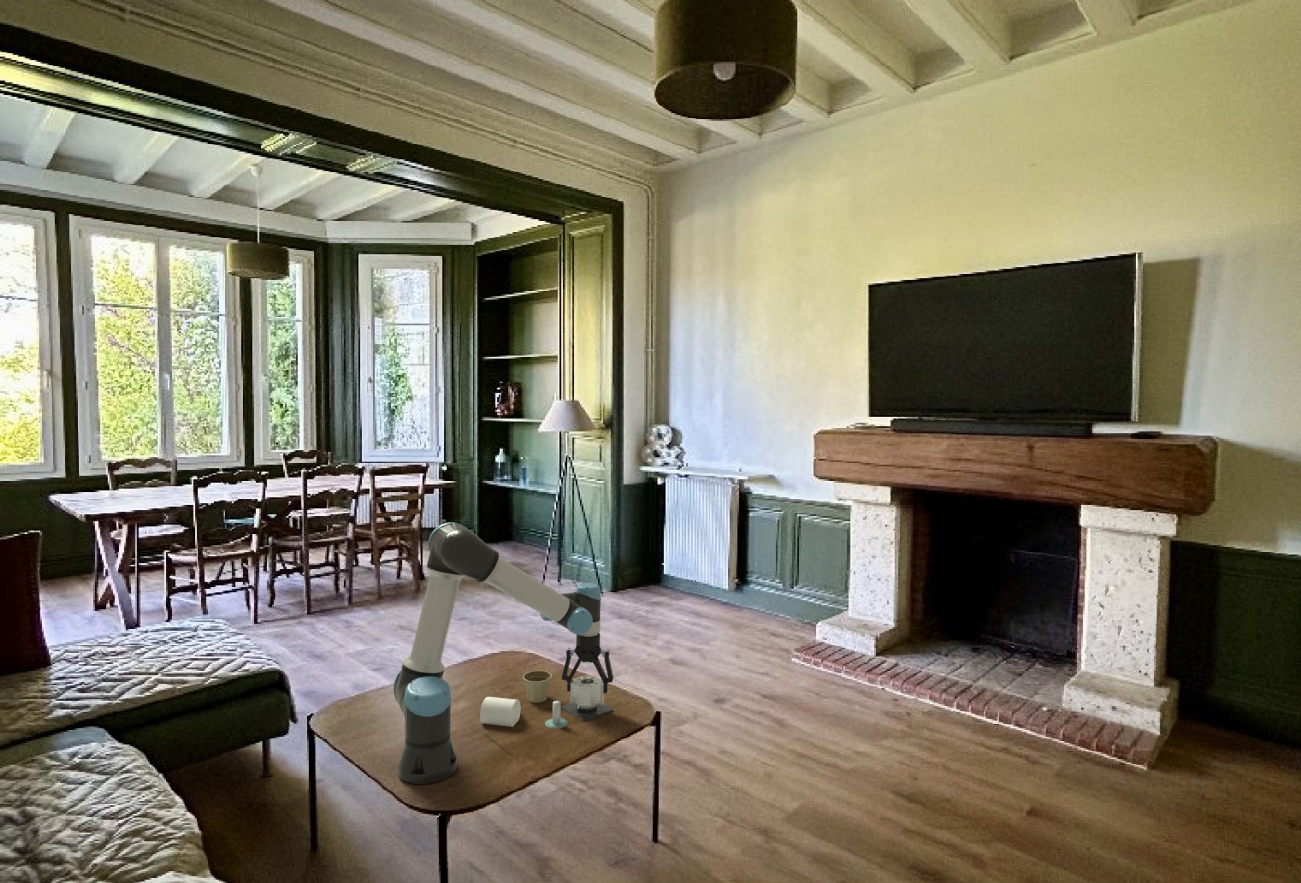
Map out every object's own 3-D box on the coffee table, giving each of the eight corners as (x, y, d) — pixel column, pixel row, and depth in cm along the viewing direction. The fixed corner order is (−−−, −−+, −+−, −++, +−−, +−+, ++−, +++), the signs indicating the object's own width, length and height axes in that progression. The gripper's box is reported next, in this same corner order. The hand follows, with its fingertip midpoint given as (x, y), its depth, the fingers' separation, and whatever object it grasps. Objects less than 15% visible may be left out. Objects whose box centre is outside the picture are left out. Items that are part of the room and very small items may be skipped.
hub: (582, 724, 223) (583, 695, 222) (560, 711, 232) (561, 682, 231) (613, 713, 230) (614, 685, 230) (591, 701, 240) (591, 673, 239)
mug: (510, 732, 217) (511, 706, 216) (479, 728, 219) (479, 703, 218) (525, 715, 229) (525, 690, 228) (496, 711, 231) (496, 687, 230)
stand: (553, 733, 216) (553, 709, 216) (540, 725, 221) (540, 701, 221) (572, 727, 221) (572, 703, 220) (559, 719, 226) (559, 695, 225)
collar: (599, 706, 226) (599, 687, 225) (570, 705, 226) (570, 686, 226) (603, 694, 235) (603, 676, 234) (575, 693, 235) (576, 675, 235)
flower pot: (543, 709, 233) (543, 683, 232) (517, 704, 236) (517, 679, 235) (556, 698, 242) (556, 672, 241) (531, 693, 245) (531, 668, 244)
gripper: (623, 630, 232) (622, 698, 234) (556, 627, 234) (556, 695, 235) (620, 638, 225) (619, 708, 226) (551, 635, 226) (551, 705, 228)
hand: (587, 701), depth 231 cm, fingers closed on collar, 9 cm apart
